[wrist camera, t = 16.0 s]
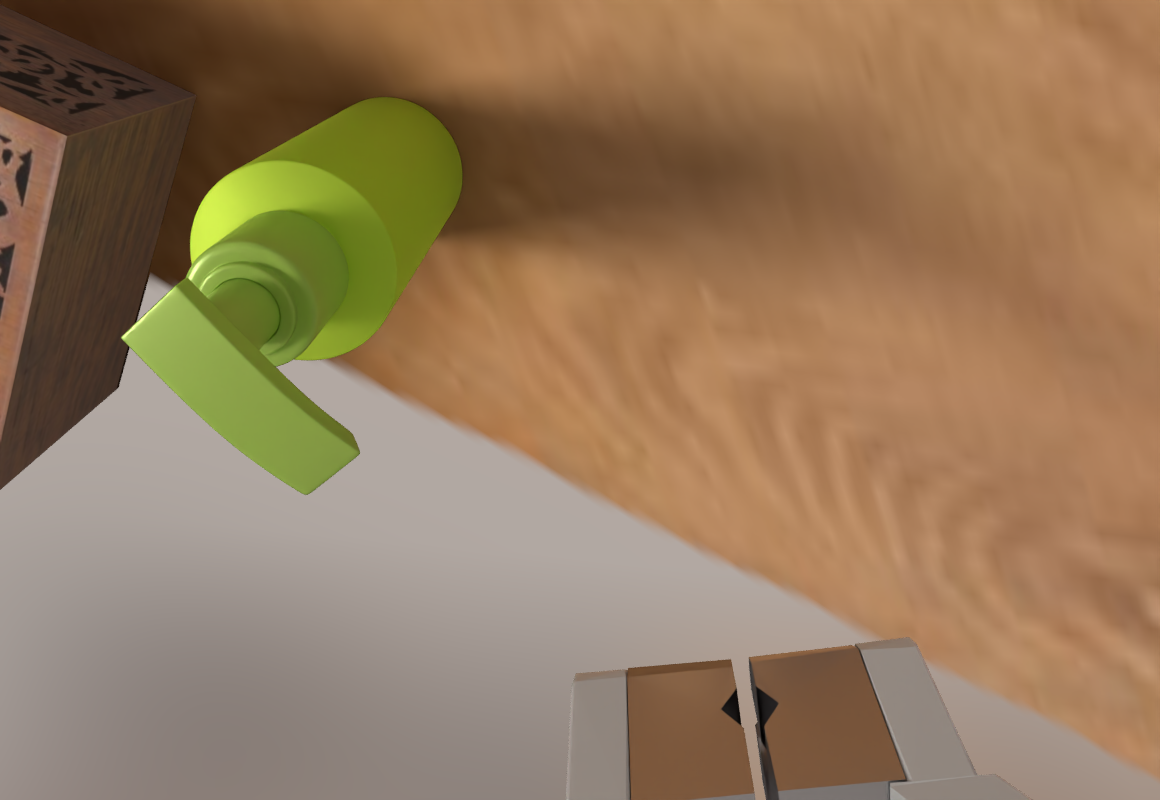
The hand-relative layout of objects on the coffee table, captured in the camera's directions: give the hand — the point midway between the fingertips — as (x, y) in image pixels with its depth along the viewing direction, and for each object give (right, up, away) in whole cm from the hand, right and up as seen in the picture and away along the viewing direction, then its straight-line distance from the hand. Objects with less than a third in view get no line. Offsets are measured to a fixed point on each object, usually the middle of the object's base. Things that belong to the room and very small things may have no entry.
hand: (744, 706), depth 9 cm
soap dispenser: (-9, +12, +29) cm, 33 cm away
